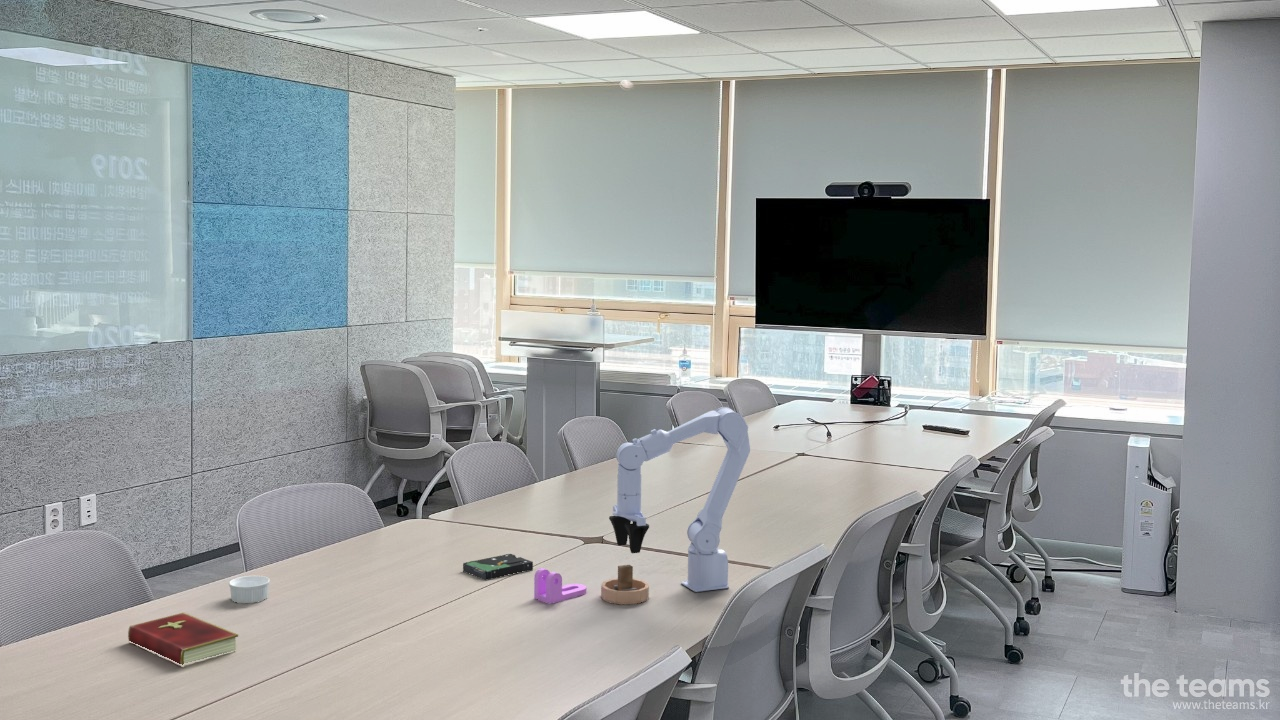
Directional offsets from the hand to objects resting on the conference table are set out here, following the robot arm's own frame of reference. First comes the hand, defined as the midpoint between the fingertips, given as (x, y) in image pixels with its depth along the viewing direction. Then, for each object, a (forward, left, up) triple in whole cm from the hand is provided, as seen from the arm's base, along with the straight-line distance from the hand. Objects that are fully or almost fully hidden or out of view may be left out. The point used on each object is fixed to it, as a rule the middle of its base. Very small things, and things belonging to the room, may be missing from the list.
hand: (628, 548), depth 270 cm
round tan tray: (+3, +6, -10) cm, 12 cm away
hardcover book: (+100, +3, -11) cm, 100 cm away
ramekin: (+84, -25, -10) cm, 89 cm away
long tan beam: (+3, +6, -9) cm, 12 cm away
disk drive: (+24, -27, -11) cm, 38 cm away
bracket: (+16, -1, -10) cm, 19 cm away
